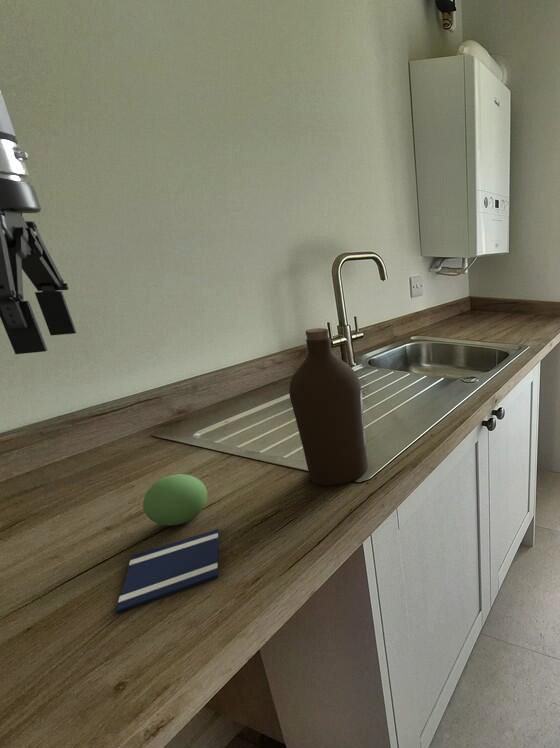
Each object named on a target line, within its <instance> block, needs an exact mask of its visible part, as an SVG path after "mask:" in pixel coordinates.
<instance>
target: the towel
mask: <svg viewBox="0 0 560 748" xmlns="http://www.w3.org/2000/svg"><path fill="white" fill-rule="evenodd" d="M219 538H220V531H219V528H216V529H213V530H210V531H207V532H204V533H200V534H196V535H194V536H190V537H188V538H184V539H180V540H177V541H175V542H174V541H173V542H171V543H168V544H165V545H161V546H158V547H155V548H151V549H149V550H145V551H142V552H139V553H136V554H132V555H131V558H130V560H129V563H128V569H127V572H126V575H125V579H124V582H123V586H122V590H121V593H120V596H119V597H118V601H117V606H116V610H115V612H116V613H117V614H120V613H122V612H126V611H128V610H131V609H134V608H136V607H140V606H142V605H144V604H147V603H150V602H152V601H153V602H154V601H155V600H159V599H161V598H164V597H167V596H170V595H173V594H175V593H178V592H180V591H183V590H187V589H189V588H192V587H195V586H197V585H200V584H202V583H205V582H208V581H211V580H215V579H217V578H219V546H220V545H219V544H220V543H219V542H220V540H219Z"/></svg>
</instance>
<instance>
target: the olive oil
mask: <svg viewBox="0 0 560 748" xmlns="http://www.w3.org/2000/svg"><path fill="white" fill-rule="evenodd" d="M305 336H306V340H305V342H306V348H307V352H308V354H307V356H306V358H305V359H304V360H303V362H302V363H301V364H300V365H299V367H298V368H297V369H296V370H295V372H294V373H293V375H292V376H291V378H290V382H289V391H288V393H289V394H288V395H289V399H290V403H291V406H292V411H293V414H294V419H295V422H296V426H297V430H298V434H299V437H300V441H301V445H302V450H303V453H304V454H303V455H304V457H305V463H306V467H307V472H308V476H309V479H310V481H311V482H312V483H314V484H316V485H319V486H325V487H329V486H331V487H332V486H338V485H343V484H347V483H350V482H352V481H354V480H356V479H358V478H360V477H361V476H362V475H364V474H365V473H366V471H367V470H368V466H369V465H368V457H367V456H368V455H367V444H366V433H365V432H366V431H365V421H364V409H363V394H362V385H361V381H360V379H359V376H358V374H357V373H356V371H355V370H354V369H353V368H352V366H350V365H349V364H348V363H347V362H345V361H343V359H342V358H340V357H339V356H337V354H335V353H334V352H333V351H332V344H331V338H330V337H329V329H328V328H325V327H316V328H310V329H306V330H305Z"/></svg>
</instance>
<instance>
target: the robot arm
mask: <svg viewBox="0 0 560 748" xmlns="http://www.w3.org/2000/svg"><path fill="white" fill-rule="evenodd" d="M16 135H17V134H16V133H15V130H14V126H13V124H12V121H11V118H10V114H9V112H8V108H7V105H6V102H5V99H4V96H3V92H2V90H1V89H0V321H1V323H2V325H3V328H4V330H5V332H6V335H7V338H8V339H9V343H10V345H11V347H12V350H13V352H14V354H15V355H23V354H34V353H35V354H36V353H43V352H47V351H48V347H47V344H46V342H45V339H44V337H43V334H42V332H41V330H40V326H39V324H38V321H37V319H36V316H35V314H34V311H33V309H32V305H31V303H30V300H24V299H25V297H24V282H23V281H24V280H23V272H24V274H25V276H26V277H27V278H28V279H29V280H30V282H31V283H32V285H33V287H34V288H35V289H36V291H35V292H34V295H35V298H36V301H37V303H38V305H39V308H40V311H41V314H42V317H43V319H44V321H45V325H46V327H47V329H48V332H49V335H50V336H61V335H74V334H77V330H76V328H75V327H76V326H75V324H74V321H73V318H72V315H71V313H70V310H69V307H68V305H67V302H66V299H65V296H64V293H63V291H68V290H69V285H68V283H66V282H65V281H64V278H63V277H62V275H61V274H60V271H59V270H58V268H57V266H56V264H55V262H54V260H53V258H52V256H51V254H50V252H49V250H48V249H47V246H46V244H45V243H44V241H43V239H42V237H41V234H40V232H39V229H38V225H37V224H36V222H35V221H31V220H25V218H24V217H23V214H38V213H40V212H41V211H42V207H41V205H40V202H39V199H38V195H37V193H36V190H35V187H34V185H32V184H31V183H30V182H27V181H25V179H28V178H29V177H30V175H29V171H28V169H27V165H26V163H25V162H24V161H29V160H30V156H29V155H28V153H27V152H25V151H21V148H20V146H19V143H18V140H17V138H16V137H17V136H16Z"/></svg>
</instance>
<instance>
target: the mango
mask: <svg viewBox="0 0 560 748" xmlns="http://www.w3.org/2000/svg"><path fill="white" fill-rule="evenodd" d="M207 500H208V490H207V487H206V485H205V484H204V483H203V482H202V481H201V480H200V479H199V478H198V477H196V476H193V475H190V474H183V473H179V474H178V473H176V474H172V475H168V476H165V477H163V478H161V479H159V480H157V481H156V482H154V483H153V484H152V485H151V486H150V487H149V488H148V490H147V491H146V493H145V495H144V497H143V503H142V506H143V511H144V514H145V515H146V516H147V518H148V519H149V520H150V521H152V522H153V523H155V524H158V525H160V526H166V527H167V526H168V527H172V526H179V525H183V524H186V523H188V522H190V521H192V520H193V519H195V518H196V517H197V516H198V515H199V514H200V513H201V512H202V511H203V510H204V508H205V507H206V504H207Z"/></svg>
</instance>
